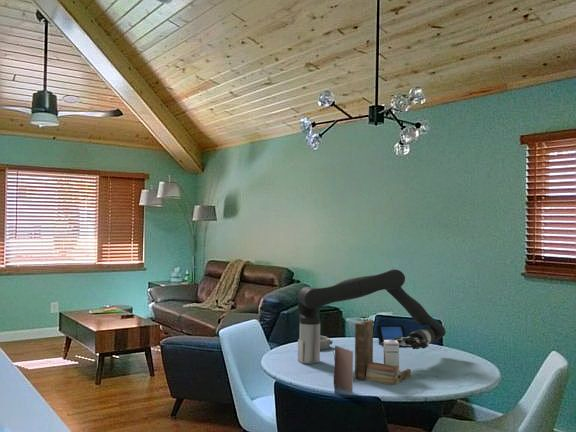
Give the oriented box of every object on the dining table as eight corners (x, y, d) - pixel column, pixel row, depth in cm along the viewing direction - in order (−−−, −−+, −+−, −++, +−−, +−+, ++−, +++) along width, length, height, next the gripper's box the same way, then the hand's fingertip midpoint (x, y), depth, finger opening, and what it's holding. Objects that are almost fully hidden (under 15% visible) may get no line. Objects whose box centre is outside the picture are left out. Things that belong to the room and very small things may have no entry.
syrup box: (399, 379, 217) (399, 342, 217) (384, 378, 217) (385, 342, 217) (397, 375, 222) (397, 339, 223) (383, 374, 223) (383, 339, 223)
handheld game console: (385, 348, 272) (385, 330, 272) (375, 342, 285) (375, 325, 285) (414, 347, 275) (414, 329, 275) (403, 341, 288) (403, 324, 288)
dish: (310, 351, 263) (310, 341, 263) (298, 345, 275) (298, 336, 275) (336, 349, 268) (336, 339, 268) (323, 343, 281) (323, 334, 281)
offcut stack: (393, 385, 207) (393, 369, 208) (365, 379, 215) (365, 364, 215) (400, 382, 212) (400, 366, 212) (372, 376, 220) (372, 361, 220)
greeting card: (332, 384, 208) (332, 345, 208) (351, 385, 207) (352, 345, 208) (332, 393, 197) (332, 352, 197) (352, 394, 196) (353, 352, 196)
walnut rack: (391, 386, 206) (391, 328, 206) (354, 379, 216) (355, 323, 216) (410, 376, 220) (411, 322, 220) (375, 370, 230) (376, 318, 230)
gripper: (404, 328, 246) (388, 334, 233) (434, 332, 238) (419, 338, 225) (404, 345, 246) (388, 351, 233) (434, 349, 237) (419, 356, 225)
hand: (403, 345), depth 229 cm, fingers open, 8 cm apart
